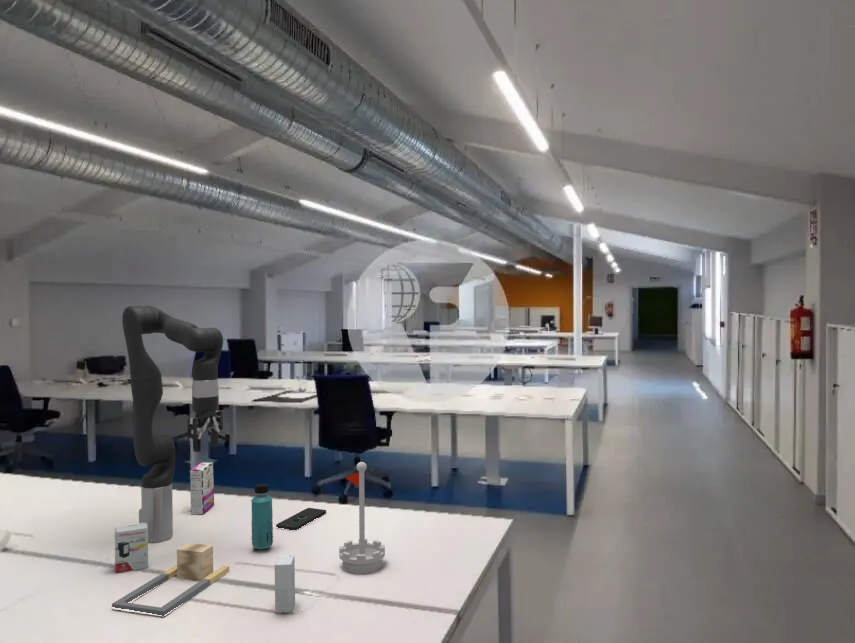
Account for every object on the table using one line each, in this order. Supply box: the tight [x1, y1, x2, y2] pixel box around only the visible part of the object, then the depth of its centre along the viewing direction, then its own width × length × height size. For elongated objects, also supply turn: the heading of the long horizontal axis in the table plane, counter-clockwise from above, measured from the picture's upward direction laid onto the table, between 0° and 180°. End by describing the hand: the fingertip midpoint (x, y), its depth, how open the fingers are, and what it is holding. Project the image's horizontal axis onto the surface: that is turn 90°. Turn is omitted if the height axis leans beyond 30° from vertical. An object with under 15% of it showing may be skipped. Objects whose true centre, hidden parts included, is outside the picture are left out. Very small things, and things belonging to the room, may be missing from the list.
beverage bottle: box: [250, 483, 274, 549], centre depth 194 cm, size 6×7×20 cm
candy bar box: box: [189, 461, 215, 516], centre depth 232 cm, size 11×5×16 cm, turn 179°
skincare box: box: [274, 554, 296, 614], centre depth 157 cm, size 6×4×12 cm
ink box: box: [114, 522, 149, 574], centre depth 181 cm, size 9×5×12 cm, turn 118°
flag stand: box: [338, 461, 386, 574], centre depth 182 cm, size 13×13×30 cm
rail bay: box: [111, 564, 230, 616], centre depth 167 cm, size 15×28×2 cm, turn 164°
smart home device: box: [275, 507, 327, 531], centre depth 221 cm, size 8×2×20 cm
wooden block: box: [176, 542, 214, 582], centre depth 175 cm, size 8×5×8 cm, turn 74°
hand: (205, 448), depth 190 cm, fingers open, 8 cm apart
